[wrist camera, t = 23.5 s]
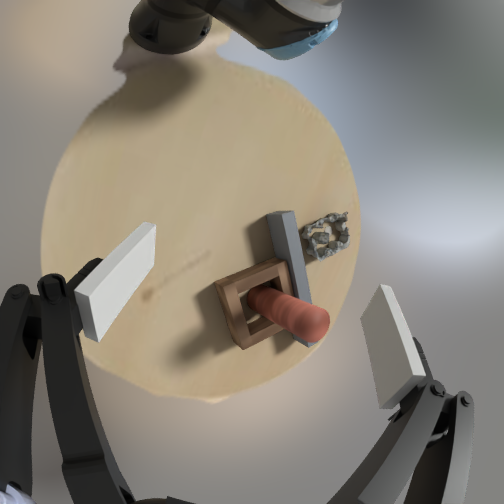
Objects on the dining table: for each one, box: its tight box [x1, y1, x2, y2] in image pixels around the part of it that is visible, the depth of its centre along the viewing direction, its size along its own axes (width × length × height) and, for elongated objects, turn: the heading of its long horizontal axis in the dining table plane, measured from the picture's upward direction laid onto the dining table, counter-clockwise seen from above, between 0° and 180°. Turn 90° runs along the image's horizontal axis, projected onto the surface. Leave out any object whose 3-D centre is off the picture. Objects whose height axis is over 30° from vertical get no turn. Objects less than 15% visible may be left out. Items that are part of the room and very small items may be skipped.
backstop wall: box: [266, 211, 318, 348], centre depth 51 cm, size 26×2×5 cm, turn 15°
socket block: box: [214, 258, 294, 350], centre depth 48 cm, size 12×12×4 cm
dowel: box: [247, 284, 330, 343], centre depth 44 cm, size 5×5×16 cm
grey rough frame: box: [302, 212, 350, 261], centre depth 54 cm, size 11×8×4 cm
